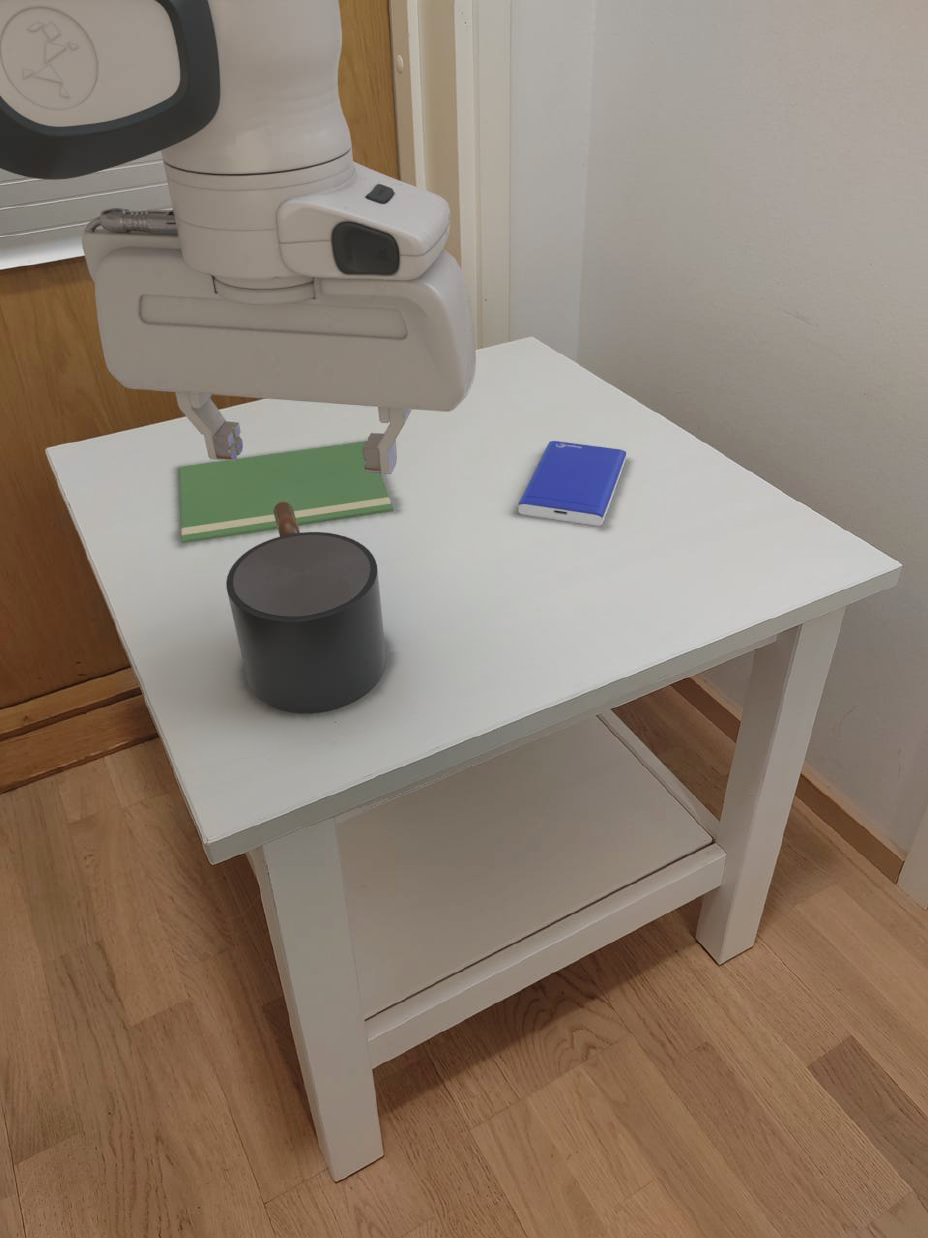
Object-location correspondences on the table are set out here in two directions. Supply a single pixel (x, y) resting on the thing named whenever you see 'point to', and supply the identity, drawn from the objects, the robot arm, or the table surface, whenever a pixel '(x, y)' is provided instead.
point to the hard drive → (573, 483)
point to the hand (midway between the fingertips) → (303, 462)
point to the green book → (278, 491)
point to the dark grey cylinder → (308, 618)
